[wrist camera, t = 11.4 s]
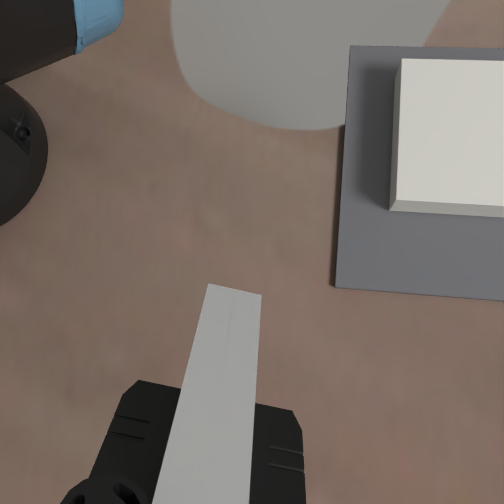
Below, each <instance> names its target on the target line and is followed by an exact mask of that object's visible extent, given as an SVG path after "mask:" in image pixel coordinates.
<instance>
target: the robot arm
mask: <svg viewBox="0 0 504 504" xmlns="http://www.w3.org/2000/svg"><path fill="white" fill-rule="evenodd" d="M123 14H124V6H123V0H0V226H1V225H3V224H5V223H6V222H8V221H9V220H10V219H12V218H13V217H14V216H15V215H17V214H18V213H19V212H20V211H21V210H22V209H23V208H24V207H25V206H26V204H27V203H28V202H29V201H30V199H31V198H32V197H33V195H34V194H35V192H36V190H37V188H38V187H39V185H40V182H41V180H42V177H43V175H44V172H45V168H46V163H47V156H48V142H47V135H46V131H45V128H44V125H43V123H42V120H41V118H40V117H39V115H38V113H37V112H36V110H35V109H34V108H33V107H32V106H31V105H30V104H29V103H28V102H27V101H26V100H25V99H24V98H23V97H22V96H20V95H19V94H18V93H17V92H16V91H15V90H13V89H12V88H11V87H9V86H8V85H6V84H4V83H6V82H9V81H11V80H13V79H16V78H18V77H21V76H23V75H25V74H28V73H30V72H33V71H35V70H37V69H40V68H42V67H45V66H47V65H50V64H52V63H54V62H57V61H59V60H62V59H64V58H66V57H69V56H71V55H76V54H79V53H81V52H82V51H83V48H85V47H87V46H89V45H91V44H93V43H94V42H96V41H98V40H100V39H102V38H104V37H106V36H108V35H110V34H112V33H113V32H114V31H115V30H116V29H117V28H118V26H119V25H120V23H121V21H122V19H123ZM260 310H261V295H258V294H254V293H249V292H245V291H241V290H236V289H232V288H227V287H223V286H218V285H214V284H208V287H207V291H206V295H205V299H204V303H203V307H202V311H201V315H200V319H199V322H198V326H197V330H196V334H195V338H194V342H193V346H192V350H191V354H190V358H189V361H188V365H187V369H186V373H185V377H184V381H183V385H182V389H179V388H175V387H170V386H165V385H160V384H156V383H151V382H146V381H141V380H138V381H137V382H136V383H135V384H134V385H132V386H131V387H130V388H129V389H128V390H127V391H126V392H125V393H124V394H123V395H122V397H121V400H120V402H119V405H118V407H117V410H116V412H115V415H114V418H113V419H112V422H111V424H110V427H109V429H108V432H107V435H106V437H105V439H104V442H103V444H102V446H101V449H100V451H99V454H98V456H97V459H96V461H95V464H94V466H93V469H92V471H91V474H90V476H89V478H88V479H85V480H83V481H82V482H80V483H79V484H78V485H76V486H75V487H73V488H72V489H71V490H69V492H68V493H67V495H66V496H65V497H64V499H63V500H62V502H61V503H60V504H306V491H305V474H304V456H303V438H302V430H301V427H300V425H299V423H298V421H297V419H296V417H295V415H294V413H293V411H291V410H286V409H281V408H276V407H272V406H267V405H262V404H257V403H255V393H256V377H257V360H258V343H259V327H260Z"/></svg>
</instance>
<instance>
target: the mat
mask: <svg viewBox="0 0 504 504" xmlns="http://www.w3.org/2000/svg"><path fill="white" fill-rule="evenodd" d="M402 59H445V60H487V61H504V49H496V48H448V47H398V46H397V47H395V46H350V57H349V72H348V87H347V104H346V121H345V135H344V151H343V167H342V183H341V199H340V215H339V231H338V247H337V263H336V279H335V288H344V289H357V290H369V291H381V292H394V293H406V294H418V295H431V296H443V297H455V298H468V299H480V300H492V301H504V218H502V217H485V216H469V215H452V214H436V213H420V212H403V211H389V206H390V183H391V159H392V136H393V113H394V89H395V77H396V74H397V71H398V68H399V66H400V63H401V60H402Z"/></svg>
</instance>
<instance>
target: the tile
mask: <svg viewBox="0 0 504 504" xmlns="http://www.w3.org/2000/svg"><path fill="white" fill-rule="evenodd" d="M389 211H403V212H420V213H436V214H452V215H469V216H485V217H502V218H504V61H487V60H445V59H402V60H401V63H400V66H399V68H398V71H397V74H396V77H395V89H394V113H393V136H392V159H391V183H390V206H389Z"/></svg>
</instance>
